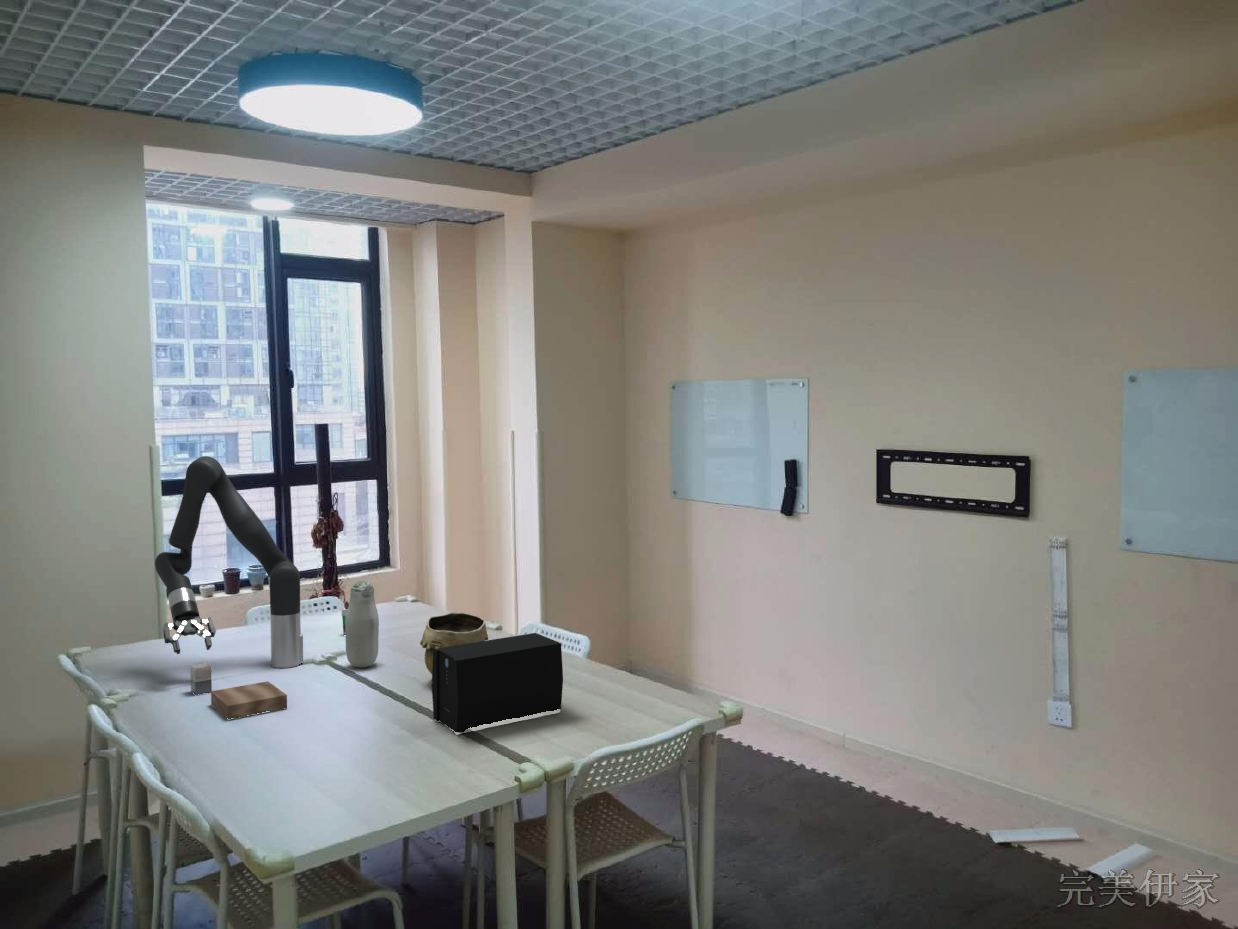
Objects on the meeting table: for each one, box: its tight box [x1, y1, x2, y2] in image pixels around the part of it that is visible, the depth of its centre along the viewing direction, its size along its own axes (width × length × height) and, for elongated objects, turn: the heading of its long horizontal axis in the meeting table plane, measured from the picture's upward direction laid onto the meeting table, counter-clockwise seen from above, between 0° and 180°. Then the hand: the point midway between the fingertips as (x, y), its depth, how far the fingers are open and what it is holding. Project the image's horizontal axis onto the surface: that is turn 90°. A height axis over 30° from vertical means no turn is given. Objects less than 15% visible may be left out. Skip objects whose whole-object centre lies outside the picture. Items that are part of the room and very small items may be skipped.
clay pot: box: [419, 612, 489, 675], centre depth 293 cm, size 21×21×20 cm
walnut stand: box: [210, 680, 288, 719], centre depth 269 cm, size 16×16×4 cm
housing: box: [189, 662, 213, 696], centre depth 282 cm, size 5×5×8 cm
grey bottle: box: [345, 580, 380, 668], centre depth 309 cm, size 10×10×28 cm
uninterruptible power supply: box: [431, 632, 564, 732], centre depth 263 cm, size 16×34×20 cm, turn 125°
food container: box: [341, 609, 348, 636], centre depth 352 cm, size 12×6×10 cm, turn 168°
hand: (193, 650), depth 287 cm, fingers open, 8 cm apart
